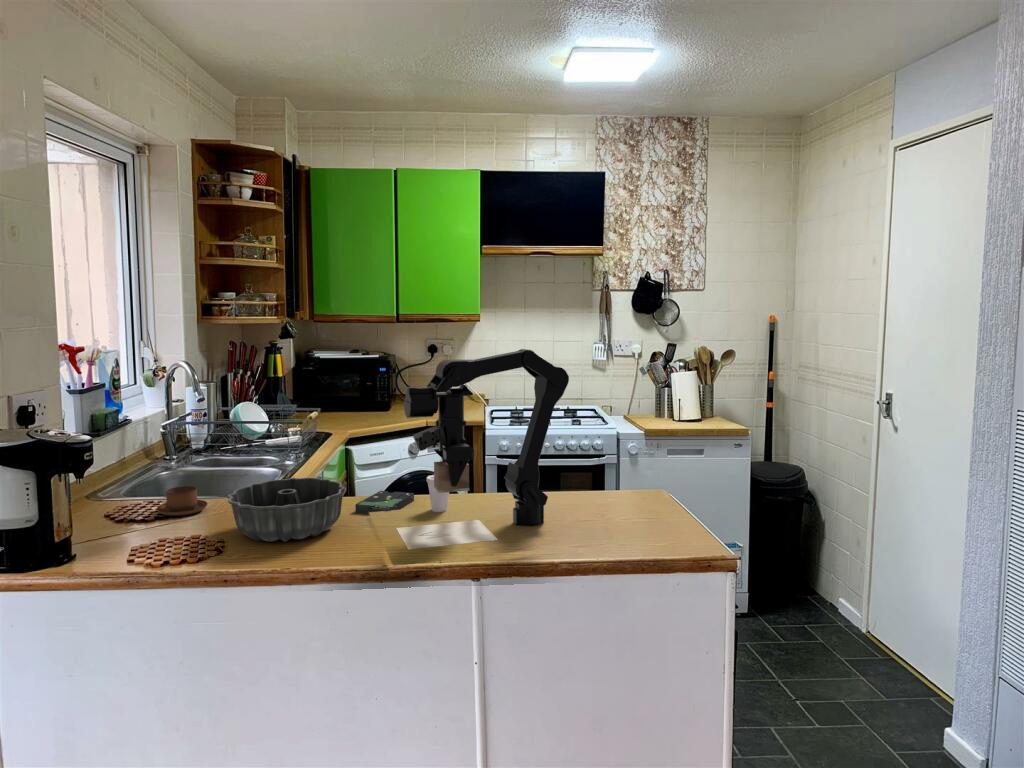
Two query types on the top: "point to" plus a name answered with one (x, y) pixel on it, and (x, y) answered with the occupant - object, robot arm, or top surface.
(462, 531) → the birch board
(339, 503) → the bundt pan
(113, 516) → the top surface
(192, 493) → the cup and saucer
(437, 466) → the block
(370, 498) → the disk drive
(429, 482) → the smoothie
